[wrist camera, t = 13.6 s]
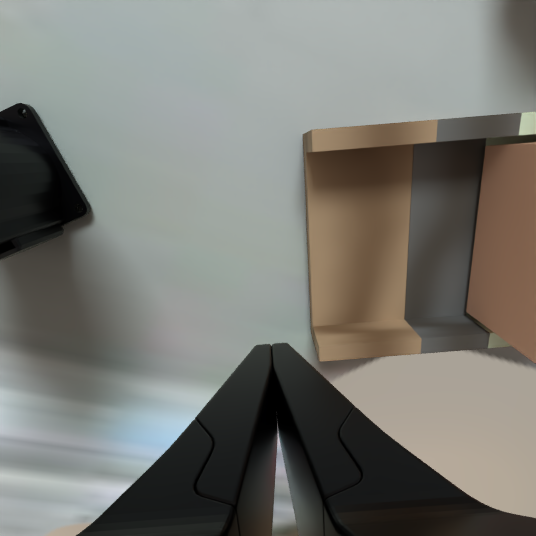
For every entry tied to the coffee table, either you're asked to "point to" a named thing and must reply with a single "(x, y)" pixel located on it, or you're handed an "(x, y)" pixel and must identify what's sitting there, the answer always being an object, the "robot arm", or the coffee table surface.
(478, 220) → the block
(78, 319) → the coffee table surface
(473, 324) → the track
